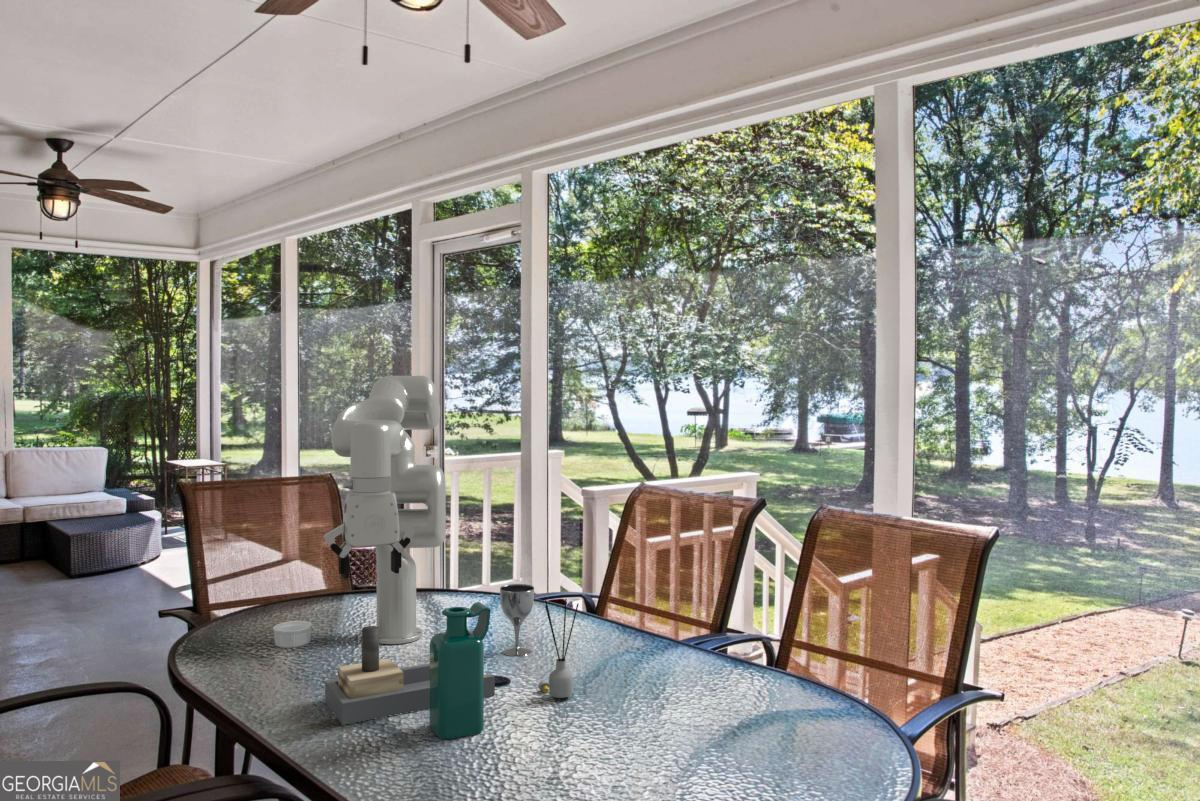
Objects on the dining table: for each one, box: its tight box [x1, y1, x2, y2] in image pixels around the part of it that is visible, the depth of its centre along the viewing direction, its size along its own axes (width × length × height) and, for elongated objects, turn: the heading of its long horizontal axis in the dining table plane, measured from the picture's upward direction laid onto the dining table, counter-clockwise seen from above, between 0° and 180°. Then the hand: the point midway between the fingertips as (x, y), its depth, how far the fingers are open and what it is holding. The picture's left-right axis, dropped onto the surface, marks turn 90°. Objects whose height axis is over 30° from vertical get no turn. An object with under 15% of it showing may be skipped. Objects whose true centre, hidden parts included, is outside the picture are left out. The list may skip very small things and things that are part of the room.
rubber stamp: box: [337, 625, 404, 699], centre depth 165 cm, size 10×10×14 cm
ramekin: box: [272, 620, 313, 649], centre depth 205 cm, size 9×9×4 cm
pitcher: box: [429, 601, 492, 740], centre depth 154 cm, size 10×8×22 cm
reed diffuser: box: [538, 596, 579, 699], centre depth 169 cm, size 10×7×20 cm
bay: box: [324, 662, 496, 726], centre depth 169 cm, size 14×30×4 cm, turn 120°
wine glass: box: [499, 583, 535, 657], centre depth 199 cm, size 8×8×15 cm
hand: (370, 574), depth 164 cm, fingers open, 9 cm apart
